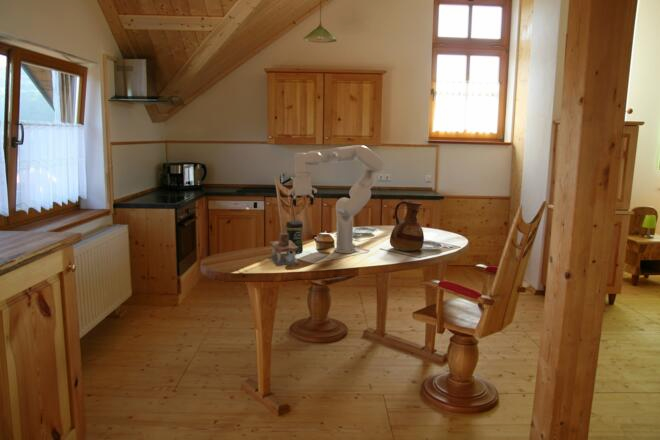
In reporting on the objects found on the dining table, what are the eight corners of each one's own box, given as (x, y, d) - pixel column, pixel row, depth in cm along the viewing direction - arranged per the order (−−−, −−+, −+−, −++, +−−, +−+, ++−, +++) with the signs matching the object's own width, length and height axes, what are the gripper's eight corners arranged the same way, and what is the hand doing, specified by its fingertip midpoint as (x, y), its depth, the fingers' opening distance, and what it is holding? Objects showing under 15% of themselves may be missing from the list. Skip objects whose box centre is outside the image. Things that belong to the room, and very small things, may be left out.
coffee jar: (290, 254, 298) (289, 222, 295) (284, 251, 305) (283, 220, 301) (305, 252, 303) (305, 221, 300) (298, 250, 310) (298, 219, 306)
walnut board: (290, 242, 294) (290, 229, 292) (298, 250, 275) (298, 236, 274) (269, 244, 290) (269, 230, 289) (276, 252, 272) (276, 237, 270)
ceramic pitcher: (423, 254, 301) (424, 202, 295) (388, 252, 305) (389, 201, 299) (423, 247, 320) (425, 198, 314) (390, 245, 323) (392, 197, 318)
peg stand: (290, 255, 295) (290, 242, 294) (298, 264, 276) (298, 250, 275) (269, 257, 292) (269, 244, 290) (276, 266, 273) (276, 252, 271)
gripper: (314, 173, 297) (315, 203, 300) (285, 175, 292) (286, 205, 295) (318, 174, 290) (319, 205, 293) (288, 176, 285) (289, 207, 288)
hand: (303, 205), depth 294 cm, fingers open, 9 cm apart
